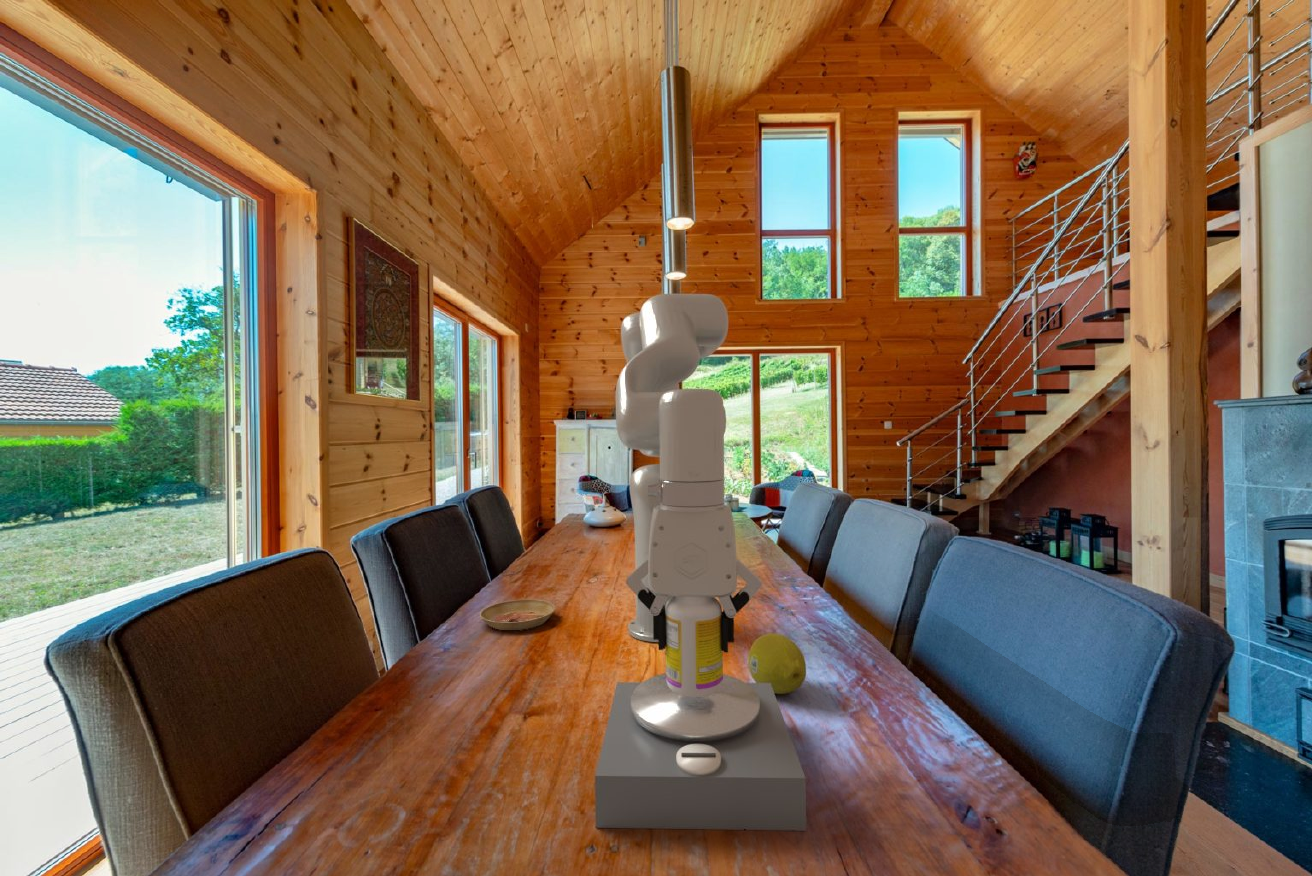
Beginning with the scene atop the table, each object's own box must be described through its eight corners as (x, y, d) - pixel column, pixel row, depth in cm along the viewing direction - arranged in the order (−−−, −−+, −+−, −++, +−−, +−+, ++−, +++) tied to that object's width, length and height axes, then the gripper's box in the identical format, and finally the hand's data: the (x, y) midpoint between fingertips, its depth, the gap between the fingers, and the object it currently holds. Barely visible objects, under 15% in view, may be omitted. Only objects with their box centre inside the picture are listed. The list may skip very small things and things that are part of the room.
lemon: (741, 677, 86) (741, 625, 86) (791, 674, 87) (790, 623, 87) (761, 711, 75) (760, 652, 75) (817, 708, 76) (816, 650, 76)
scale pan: (635, 677, 73) (635, 670, 73) (750, 678, 73) (750, 670, 73) (625, 740, 58) (625, 731, 58) (769, 742, 58) (769, 732, 58)
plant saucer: (464, 632, 108) (463, 618, 108) (506, 608, 122) (505, 596, 122) (532, 639, 104) (532, 625, 104) (567, 614, 118) (567, 601, 118)
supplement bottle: (728, 678, 68) (727, 572, 68) (715, 703, 62) (715, 587, 61) (675, 670, 70) (674, 568, 70) (658, 694, 64) (657, 582, 63)
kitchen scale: (617, 720, 74) (617, 676, 74) (770, 721, 73) (770, 676, 73) (595, 827, 54) (594, 767, 54) (806, 830, 53) (805, 769, 53)
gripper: (612, 498, 63) (615, 657, 63) (770, 499, 61) (771, 663, 61) (624, 491, 70) (626, 632, 71) (765, 491, 68) (766, 637, 68)
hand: (693, 645), depth 66 cm, fingers closed on supplement bottle, 6 cm apart
